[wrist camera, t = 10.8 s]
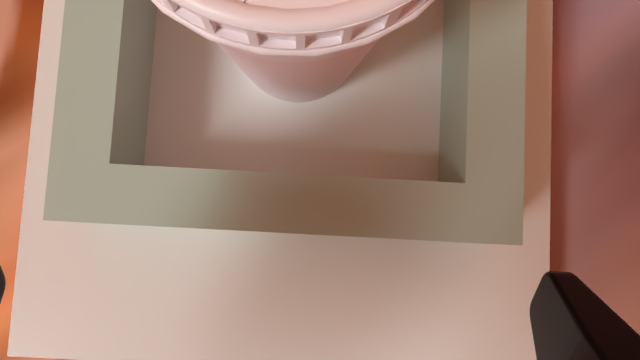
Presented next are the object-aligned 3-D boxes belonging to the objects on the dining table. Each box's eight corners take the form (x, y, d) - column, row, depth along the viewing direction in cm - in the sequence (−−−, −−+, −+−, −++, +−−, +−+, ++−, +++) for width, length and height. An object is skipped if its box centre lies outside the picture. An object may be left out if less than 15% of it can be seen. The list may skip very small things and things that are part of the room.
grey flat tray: (534, 373, 18) (600, 413, 14) (24, 349, 18) (-59, 382, 14) (543, -212, 20) (602, -323, 16) (84, -245, 20) (27, -367, 16)
